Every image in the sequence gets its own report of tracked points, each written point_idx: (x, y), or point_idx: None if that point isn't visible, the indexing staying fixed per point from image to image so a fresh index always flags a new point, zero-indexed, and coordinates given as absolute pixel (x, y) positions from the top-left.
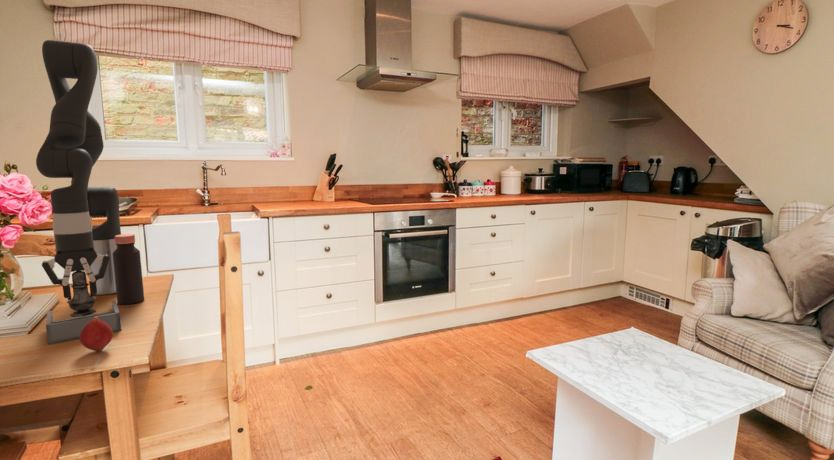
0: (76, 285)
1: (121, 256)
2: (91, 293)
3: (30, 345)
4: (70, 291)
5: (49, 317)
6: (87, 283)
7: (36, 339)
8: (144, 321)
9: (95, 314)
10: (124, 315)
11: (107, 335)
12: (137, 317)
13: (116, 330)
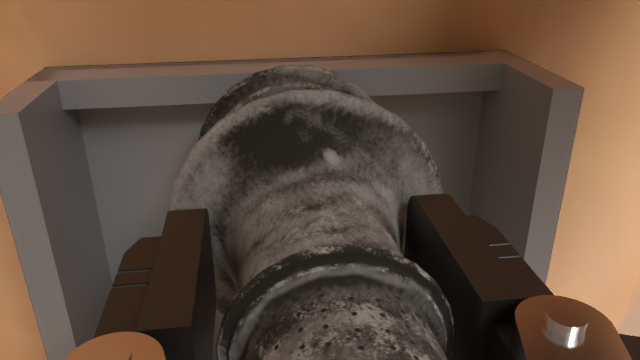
0: None
1: None
2: None
3: (15, 349)
4: (207, 327)
5: (58, 326)
6: (442, 348)
7: (17, 263)
8: (607, 256)
9: (376, 76)
10: (555, 43)
11: None
12: (605, 150)
13: None
